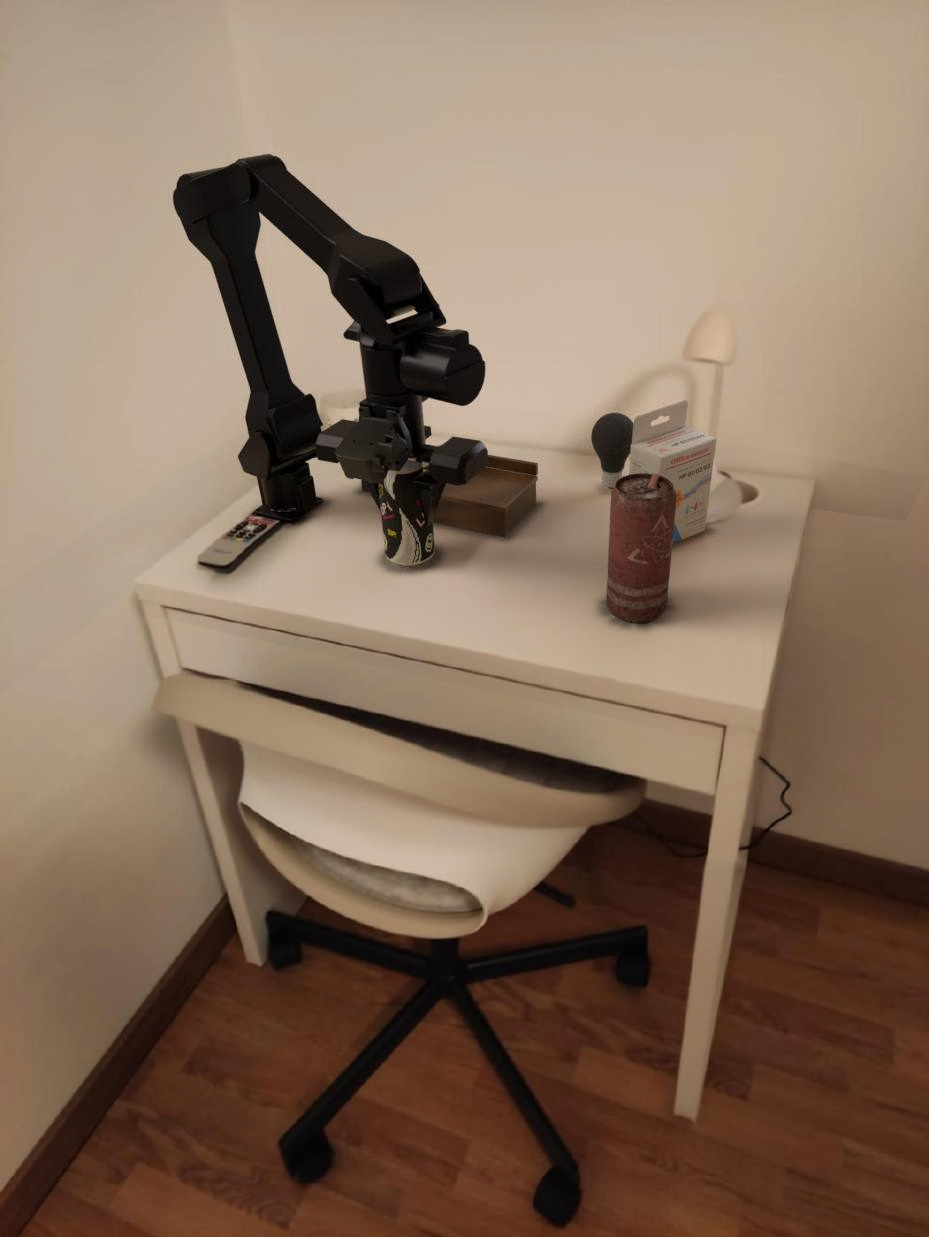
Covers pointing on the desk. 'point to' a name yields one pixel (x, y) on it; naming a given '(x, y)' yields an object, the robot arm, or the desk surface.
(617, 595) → the can
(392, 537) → the beverage can
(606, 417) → the light bulb
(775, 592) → the desk surface
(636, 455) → the ink box
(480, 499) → the step shelf
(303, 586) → the desk surface
